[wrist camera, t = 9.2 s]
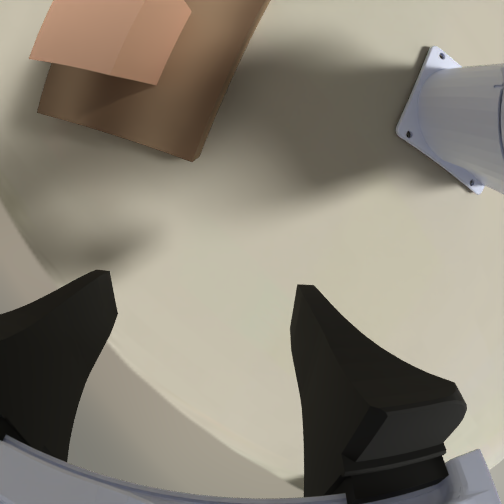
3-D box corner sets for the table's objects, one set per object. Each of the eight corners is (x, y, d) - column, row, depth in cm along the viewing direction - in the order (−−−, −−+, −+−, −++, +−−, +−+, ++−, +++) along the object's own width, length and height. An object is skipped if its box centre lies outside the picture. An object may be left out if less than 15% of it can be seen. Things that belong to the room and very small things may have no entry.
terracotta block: (191, 11, 13) (163, -30, 7) (156, 85, 15) (110, 75, 9) (121, -2, 12) (72, -35, 7) (88, 67, 14) (28, 58, 8)
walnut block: (271, 1, 15) (273, -16, 12) (200, 155, 19) (191, 162, 17) (118, -29, 13) (102, -43, 10) (60, 110, 18) (36, 112, 15)
